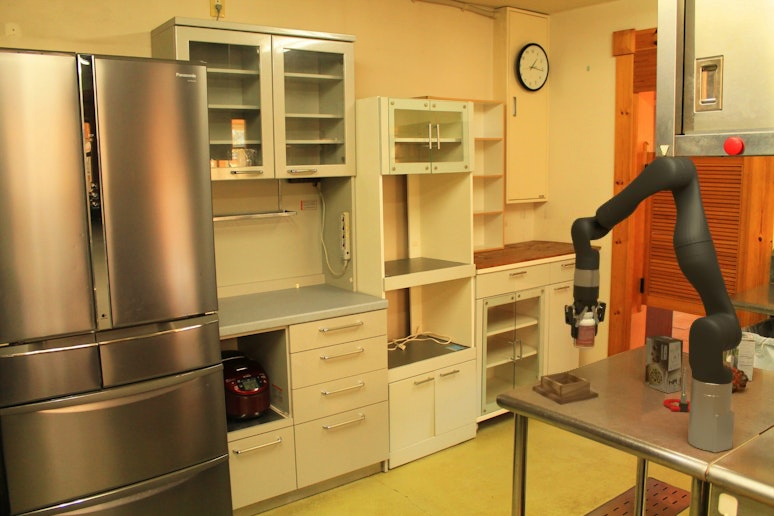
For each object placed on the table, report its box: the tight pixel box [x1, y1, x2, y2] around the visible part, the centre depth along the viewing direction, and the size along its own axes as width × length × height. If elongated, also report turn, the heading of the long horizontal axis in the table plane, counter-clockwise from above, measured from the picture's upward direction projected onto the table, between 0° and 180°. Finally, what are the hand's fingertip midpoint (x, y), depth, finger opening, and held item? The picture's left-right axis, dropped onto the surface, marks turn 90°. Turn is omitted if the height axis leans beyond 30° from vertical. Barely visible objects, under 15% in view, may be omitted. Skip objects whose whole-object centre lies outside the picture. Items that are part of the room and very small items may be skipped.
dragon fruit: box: [728, 366, 749, 392], centre depth 204 cm, size 8×8×12 cm
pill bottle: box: [572, 312, 596, 350], centre depth 199 cm, size 6×6×11 cm
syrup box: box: [729, 332, 756, 382], centre depth 214 cm, size 6×6×14 cm
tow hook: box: [663, 366, 690, 413], centre depth 191 cm, size 8×13×9 cm
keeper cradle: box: [532, 371, 599, 406], centre depth 203 cm, size 14×14×5 cm
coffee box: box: [644, 334, 684, 394], centre depth 206 cm, size 9×6×16 cm
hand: (584, 336), depth 200 cm, fingers closed on pill bottle, 6 cm apart
